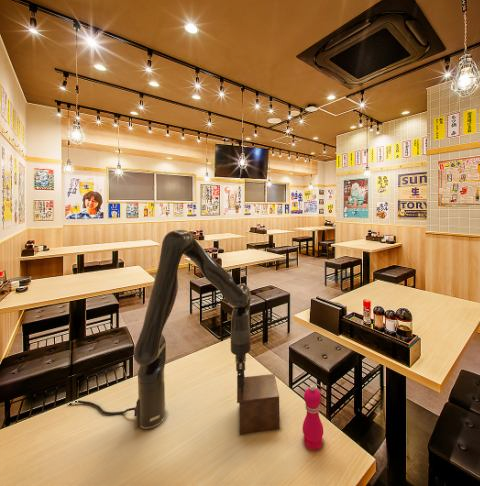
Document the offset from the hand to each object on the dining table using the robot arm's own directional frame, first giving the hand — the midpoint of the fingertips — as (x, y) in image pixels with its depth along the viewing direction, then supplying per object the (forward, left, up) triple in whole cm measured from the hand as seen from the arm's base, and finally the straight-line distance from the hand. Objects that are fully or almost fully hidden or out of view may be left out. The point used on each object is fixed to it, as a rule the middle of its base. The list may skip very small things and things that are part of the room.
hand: (240, 379), depth 99 cm
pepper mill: (+25, -13, -16) cm, 32 cm away
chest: (+7, 0, -16) cm, 17 cm away
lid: (+6, 0, -4) cm, 7 cm away
